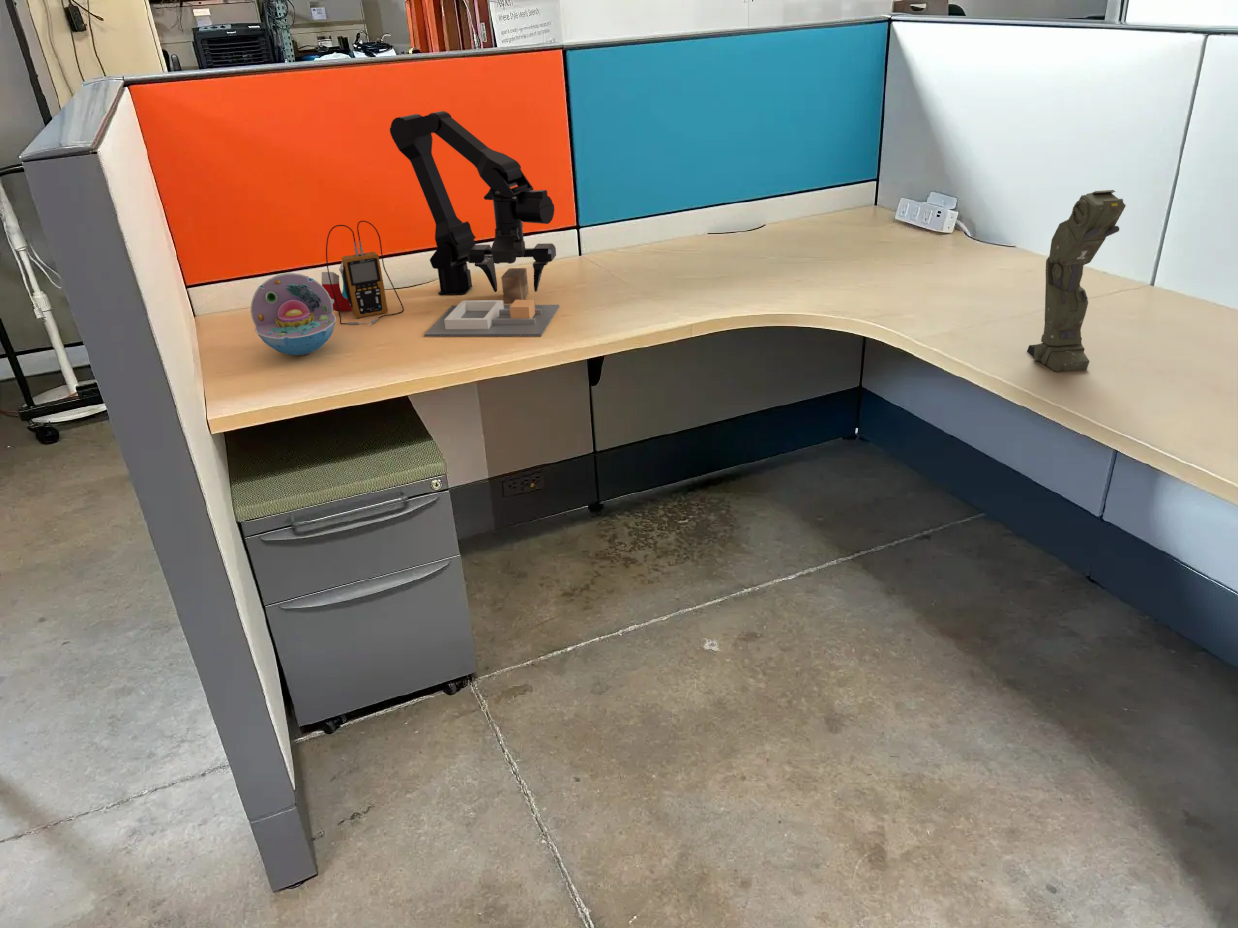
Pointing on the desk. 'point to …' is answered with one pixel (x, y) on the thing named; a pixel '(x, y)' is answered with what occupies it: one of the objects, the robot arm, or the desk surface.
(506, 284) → the block
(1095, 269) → the desk surface
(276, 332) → the educational model
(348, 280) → the multimeter
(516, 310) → the block
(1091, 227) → the mechanical leg
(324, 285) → the magnet
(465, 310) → the grey base board
